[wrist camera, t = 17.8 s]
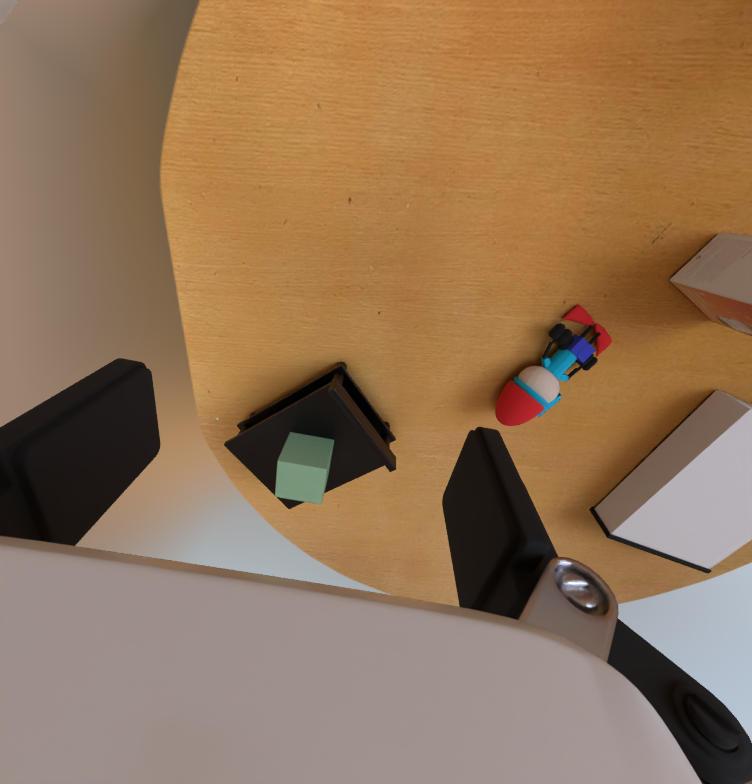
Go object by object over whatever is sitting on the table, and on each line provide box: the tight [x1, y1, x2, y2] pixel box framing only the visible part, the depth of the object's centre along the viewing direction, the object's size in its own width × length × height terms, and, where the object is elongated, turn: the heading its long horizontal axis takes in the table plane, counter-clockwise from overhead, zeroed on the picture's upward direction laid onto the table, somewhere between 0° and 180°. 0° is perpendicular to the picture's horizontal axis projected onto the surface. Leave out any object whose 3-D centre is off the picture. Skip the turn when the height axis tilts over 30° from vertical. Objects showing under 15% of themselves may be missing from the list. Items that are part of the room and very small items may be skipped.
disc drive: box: [590, 390, 752, 573], centre depth 46 cm, size 18×22×5 cm
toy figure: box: [496, 305, 612, 426], centre depth 40 cm, size 8×5×15 cm
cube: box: [275, 432, 334, 504], centre depth 38 cm, size 5×5×5 cm
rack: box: [224, 362, 396, 509], centre depth 43 cm, size 16×12×8 cm
